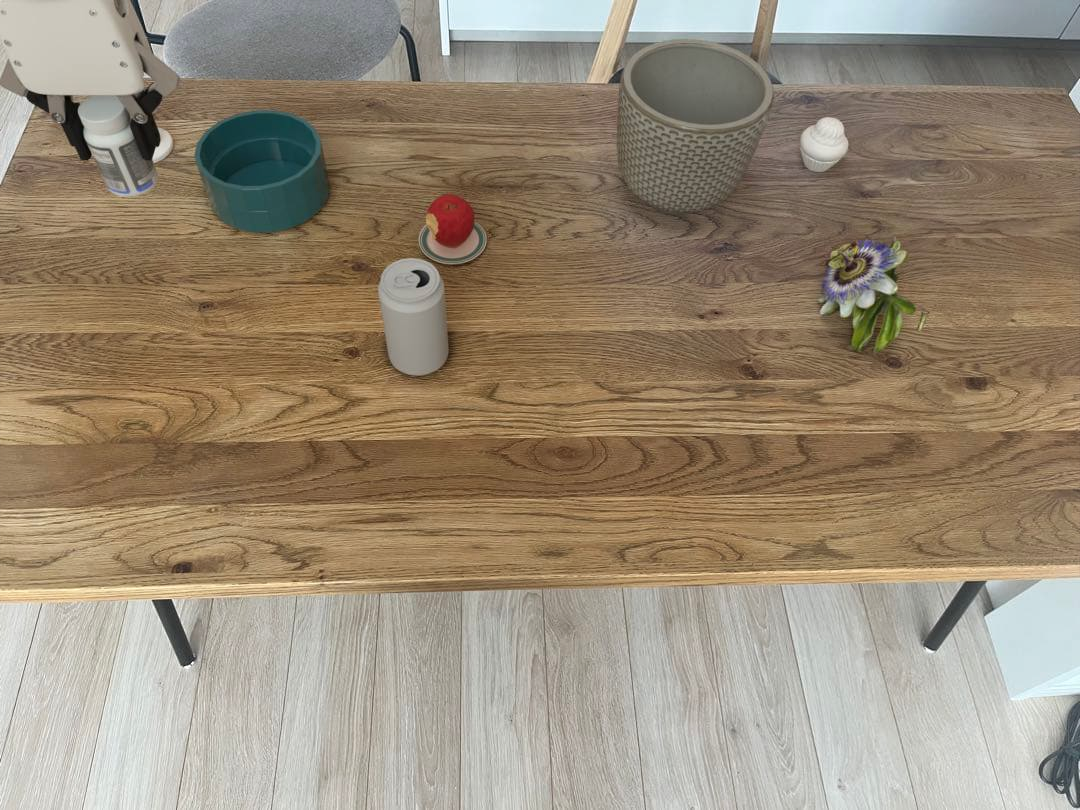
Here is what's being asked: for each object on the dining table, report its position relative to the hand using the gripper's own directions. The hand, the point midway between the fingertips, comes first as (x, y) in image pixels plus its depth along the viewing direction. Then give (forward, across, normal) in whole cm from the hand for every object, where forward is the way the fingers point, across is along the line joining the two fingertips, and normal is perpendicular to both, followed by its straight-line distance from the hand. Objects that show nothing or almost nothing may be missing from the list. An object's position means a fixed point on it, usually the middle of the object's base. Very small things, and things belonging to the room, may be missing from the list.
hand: (119, 149), depth 80 cm
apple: (+20, -30, -8) cm, 37 cm away
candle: (+20, +9, -26) cm, 34 cm away
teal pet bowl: (+20, -8, -17) cm, 27 cm away
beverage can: (+20, -26, +9) cm, 34 cm away
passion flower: (+20, -76, +4) cm, 79 cm away
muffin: (+20, -78, -22) cm, 83 cm away
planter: (+20, -58, -16) cm, 63 cm away
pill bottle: (+4, 0, 0) cm, 4 cm away
